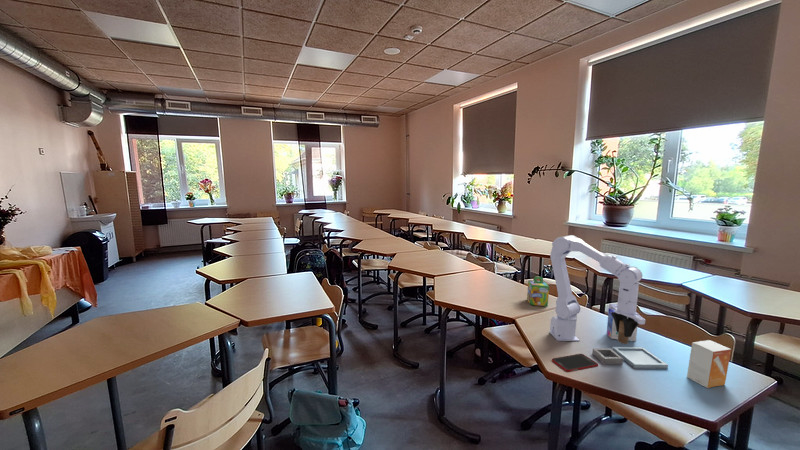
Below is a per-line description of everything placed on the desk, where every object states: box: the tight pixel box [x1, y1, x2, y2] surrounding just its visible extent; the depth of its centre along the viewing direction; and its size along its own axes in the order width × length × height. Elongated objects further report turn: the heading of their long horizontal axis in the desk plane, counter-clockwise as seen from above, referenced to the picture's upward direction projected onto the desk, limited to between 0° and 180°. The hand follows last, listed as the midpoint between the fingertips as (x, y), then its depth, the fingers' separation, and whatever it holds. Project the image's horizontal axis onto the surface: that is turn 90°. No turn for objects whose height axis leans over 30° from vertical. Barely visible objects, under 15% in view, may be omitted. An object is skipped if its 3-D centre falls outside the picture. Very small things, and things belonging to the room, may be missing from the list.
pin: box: [617, 320, 629, 345], centre depth 117 cm, size 3×3×8 cm
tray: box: [611, 346, 669, 370], centre depth 119 cm, size 12×12×2 cm
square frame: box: [592, 347, 624, 365], centre depth 119 cm, size 7×7×2 cm
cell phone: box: [551, 353, 599, 373], centre depth 116 cm, size 8×15×1 cm, turn 106°
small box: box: [686, 339, 732, 389], centre depth 105 cm, size 8×6×13 cm
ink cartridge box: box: [606, 307, 638, 342], centre depth 135 cm, size 10×6×14 cm, turn 78°
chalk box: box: [526, 276, 550, 307], centre depth 173 cm, size 9×9×15 cm
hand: (623, 334), depth 118 cm, fingers closed on pin, 3 cm apart
